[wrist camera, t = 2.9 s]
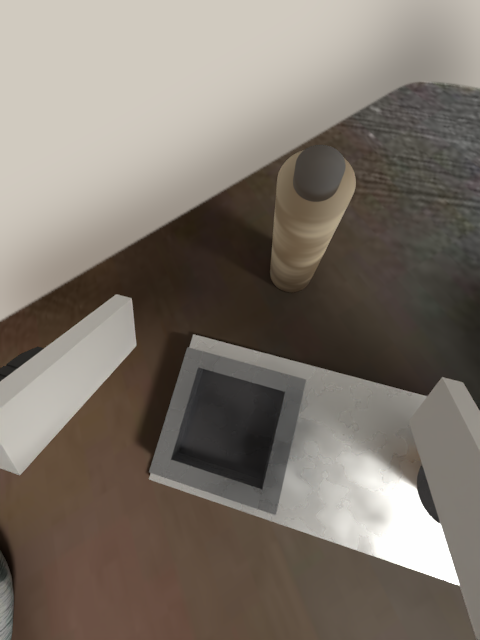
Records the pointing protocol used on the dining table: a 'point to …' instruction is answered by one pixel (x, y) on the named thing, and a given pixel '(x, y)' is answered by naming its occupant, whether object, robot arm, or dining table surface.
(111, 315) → the robot arm
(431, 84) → the dining table surface
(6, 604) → the spool
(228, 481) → the bolt plate
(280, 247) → the birch leg peg
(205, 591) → the dining table surface
